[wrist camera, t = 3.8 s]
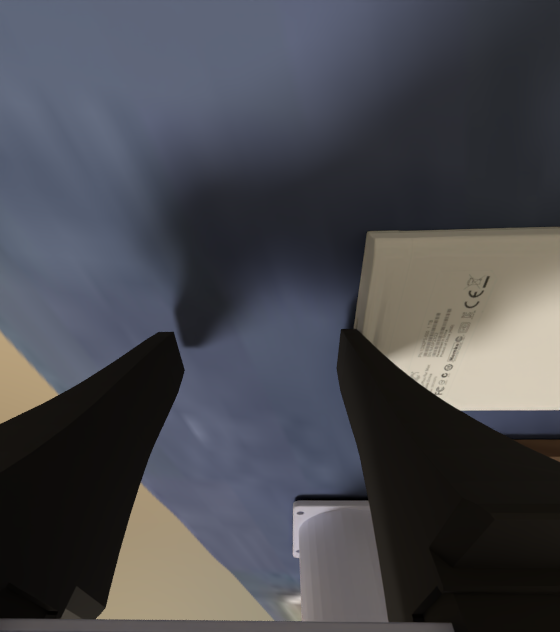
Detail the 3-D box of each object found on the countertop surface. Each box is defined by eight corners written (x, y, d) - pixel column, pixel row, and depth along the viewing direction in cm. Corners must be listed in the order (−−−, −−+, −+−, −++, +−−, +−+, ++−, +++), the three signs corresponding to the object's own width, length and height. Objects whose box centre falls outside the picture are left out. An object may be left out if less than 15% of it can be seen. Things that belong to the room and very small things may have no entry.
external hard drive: (586, 386, 13) (342, 390, 14) (722, 218, 9) (363, 228, 9) (621, 413, 12) (348, 416, 12) (801, 229, 8) (378, 240, 8)
